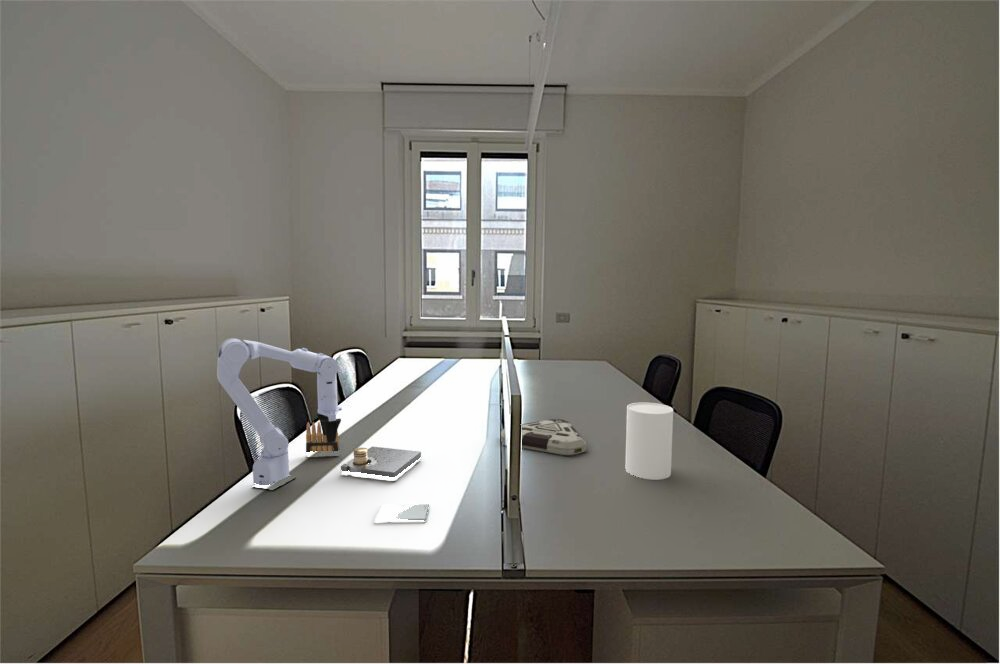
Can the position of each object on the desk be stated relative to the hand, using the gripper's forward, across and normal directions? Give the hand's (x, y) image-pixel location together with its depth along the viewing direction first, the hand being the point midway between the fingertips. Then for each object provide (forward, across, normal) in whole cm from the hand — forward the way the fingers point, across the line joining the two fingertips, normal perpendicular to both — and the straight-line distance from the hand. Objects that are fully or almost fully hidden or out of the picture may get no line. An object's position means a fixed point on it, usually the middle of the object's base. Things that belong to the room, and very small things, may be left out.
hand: (329, 438), depth 151 cm
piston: (+10, -6, -8) cm, 14 cm away
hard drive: (+11, -39, -11) cm, 42 cm away
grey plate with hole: (+10, -6, -15) cm, 19 cm away
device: (+11, -8, -76) cm, 78 cm away
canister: (+11, -48, -86) cm, 99 cm away
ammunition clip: (+11, +14, 0) cm, 18 cm away
